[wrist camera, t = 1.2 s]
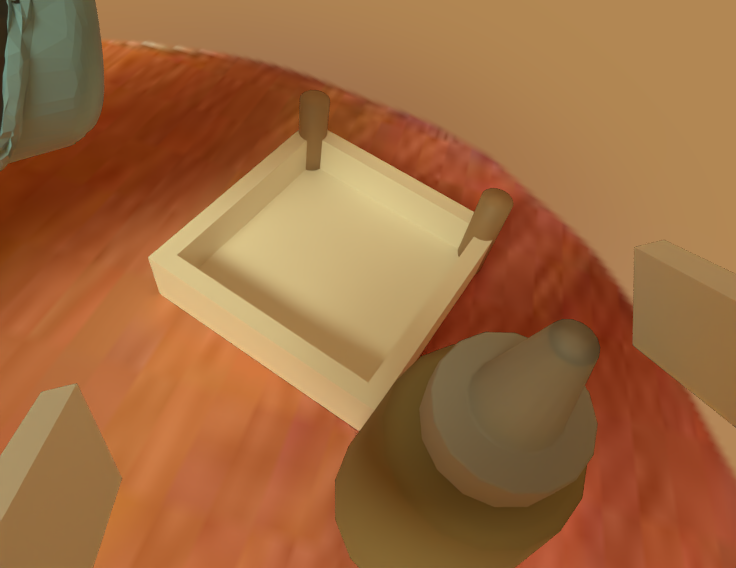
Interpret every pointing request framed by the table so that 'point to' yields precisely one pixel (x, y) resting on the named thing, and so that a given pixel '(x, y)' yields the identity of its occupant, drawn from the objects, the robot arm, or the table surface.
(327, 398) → the tray
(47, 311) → the table surface
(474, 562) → the squeeze bottle
